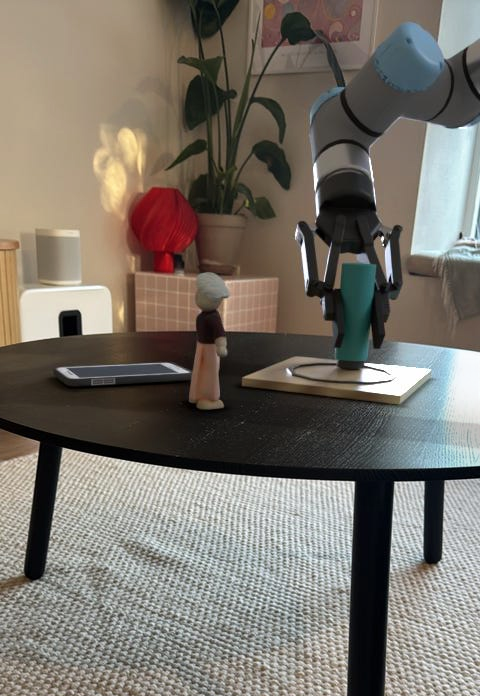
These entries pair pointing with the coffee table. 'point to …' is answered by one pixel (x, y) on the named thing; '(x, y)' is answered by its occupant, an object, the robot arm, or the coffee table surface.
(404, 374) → the board
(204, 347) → the grandmother figurine
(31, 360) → the coffee table surface
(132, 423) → the coffee table surface
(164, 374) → the cell phone
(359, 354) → the cylinder
